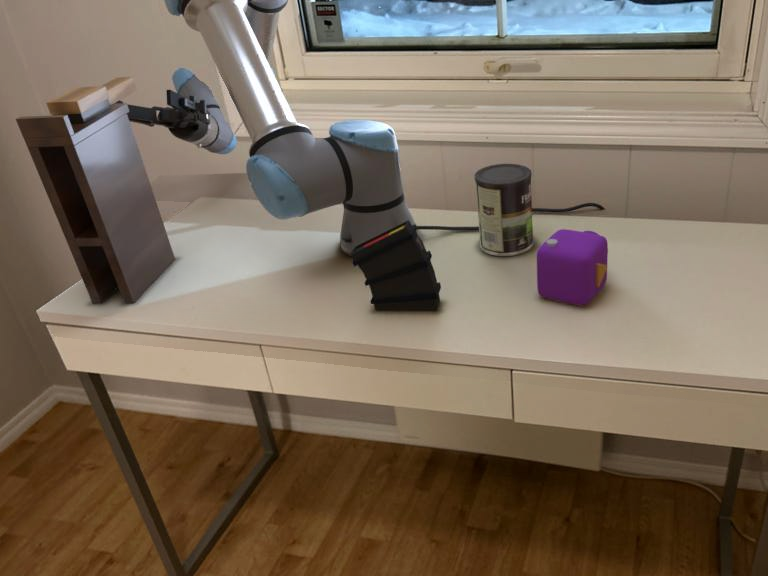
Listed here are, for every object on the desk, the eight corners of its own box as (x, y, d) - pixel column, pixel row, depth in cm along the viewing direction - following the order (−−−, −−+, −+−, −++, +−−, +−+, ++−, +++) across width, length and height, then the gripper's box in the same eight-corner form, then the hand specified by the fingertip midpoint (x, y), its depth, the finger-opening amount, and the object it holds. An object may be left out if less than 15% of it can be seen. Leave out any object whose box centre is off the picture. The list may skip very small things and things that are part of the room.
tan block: (142, 89, 139) (136, 69, 137) (85, 123, 122) (76, 101, 120) (115, 91, 139) (108, 71, 137) (54, 124, 123) (45, 102, 121)
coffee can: (537, 233, 146) (535, 163, 138) (529, 257, 138) (526, 184, 130) (485, 232, 148) (480, 162, 140) (474, 256, 140) (468, 183, 132)
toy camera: (614, 272, 131) (616, 218, 125) (598, 311, 120) (600, 255, 115) (554, 266, 134) (553, 214, 129) (533, 304, 124) (531, 249, 118)
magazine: (455, 303, 122) (406, 227, 115) (389, 332, 127) (338, 261, 120) (459, 292, 125) (411, 217, 118) (394, 321, 130) (344, 250, 123)
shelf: (177, 257, 148) (121, 85, 130) (134, 303, 134) (63, 117, 115) (139, 257, 149) (78, 87, 131) (92, 303, 135) (15, 119, 116)
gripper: (247, 140, 160) (198, 116, 139) (138, 144, 164) (74, 121, 143) (246, 104, 160) (196, 75, 139) (137, 109, 163) (72, 81, 142)
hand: (134, 98), depth 141 cm, fingers open, 13 cm apart
